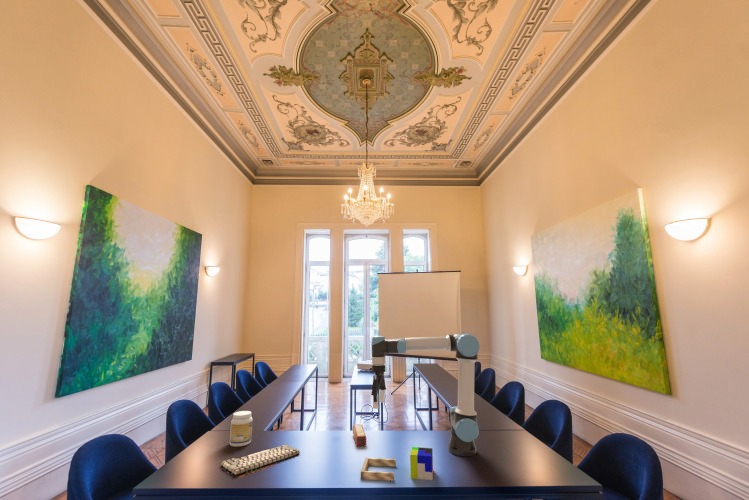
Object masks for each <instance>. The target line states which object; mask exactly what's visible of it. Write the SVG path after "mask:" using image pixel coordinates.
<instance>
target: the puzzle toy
mask: <svg viewBox="0 0 749 500" xmlns="http://www.w3.org/2000/svg"><path fill="white" fill-rule="evenodd" d="M409 456H410V457H409V459H410V460H409V461H410V464H409V465H410V479H417V480H426V481H433V478H434V456H433V448H430V447H420V446H419V447H417V446H412V447H411V450H410V454H409Z"/></svg>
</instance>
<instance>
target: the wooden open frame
mask: <svg viewBox="0 0 749 500" xmlns="http://www.w3.org/2000/svg"><path fill="white" fill-rule="evenodd" d="M369 466H377V467H378V466H379V467H380V466H381V467H397V459H396V458H382V457H381V458H378V457H365V458H364V461H363V464H362V467H361V469H360V480H373V481H374V480H376V481H390V480H391V481H392V482H393V481H395V472H390V471H375V470H374V471H372V470H370V471H369V470H368V467H369Z"/></svg>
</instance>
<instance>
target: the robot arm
mask: <svg viewBox="0 0 749 500" xmlns="http://www.w3.org/2000/svg"><path fill="white" fill-rule="evenodd" d="M408 351H409V352H410V351H411V352H413V351H414V352H415V351H448V352H455V359H456V360H457V362H458V367H457V368H458V370H457V406H456V405H455V406H452V407H450V409H449V414H450V415H449V417H450V439H449V442H448V452H449V453H451V454H452V455H455V456H459V457H472V456H475V455H476V454H477V446H476V444H475V441H476V439H477V438H478V436H479V433H480V429H479V425H478V412H477V411H476V410H475V367H476V366H475V364H476V362H477V361H478V359H479V358H478V357H479V356H478V353H479V351H480V342H479V340H478V339H477V337H476V336H475V335H473V334H471V333H466V332H460V333H455V334H447V335H446V336H423V337H401V338H400V337H394V338H391V339H386V337H385V336H384V335H375V336H372V338H371V360H370V361H371V364H372V365H371V372H372V373H374V374H373V377H372V385H371V387H372V388H371V393H370V394H371V396H372V409H379V402H380V403H386V399H385V398H386V395H385V391H386V390H387V387H386V381H385V372H386V354H399V355H401V354H406V353H407V352H408Z"/></svg>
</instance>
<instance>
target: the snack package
mask: <svg viewBox="0 0 749 500" xmlns="http://www.w3.org/2000/svg"><path fill="white" fill-rule="evenodd" d="M352 434H353V438H354V441H355V445H356V447H357V448H359V447H360V448H363V447H362V446H364V447H366V444H367V435H366V433H365V430H364V426H363V424H359V423H355V424H354V425H353V426H352Z"/></svg>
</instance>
